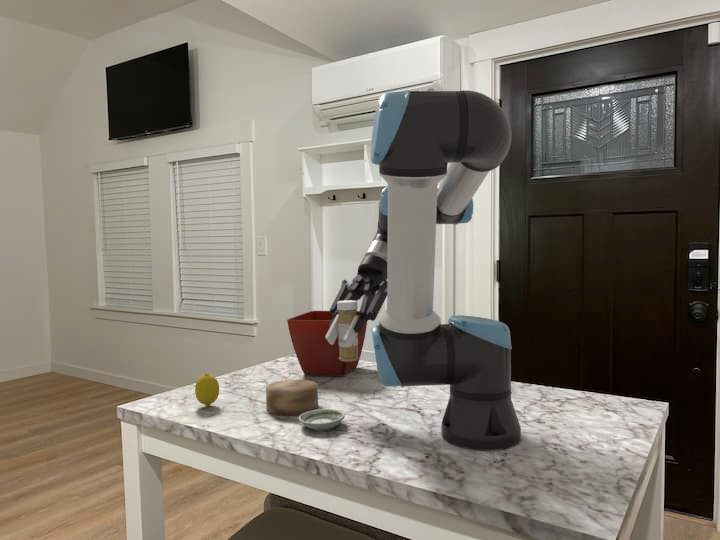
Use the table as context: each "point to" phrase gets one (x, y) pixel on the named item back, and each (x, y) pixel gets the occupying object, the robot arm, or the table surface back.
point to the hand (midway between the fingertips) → (338, 341)
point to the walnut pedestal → (291, 397)
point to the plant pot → (319, 345)
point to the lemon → (207, 389)
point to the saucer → (321, 419)
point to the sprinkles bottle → (345, 317)
